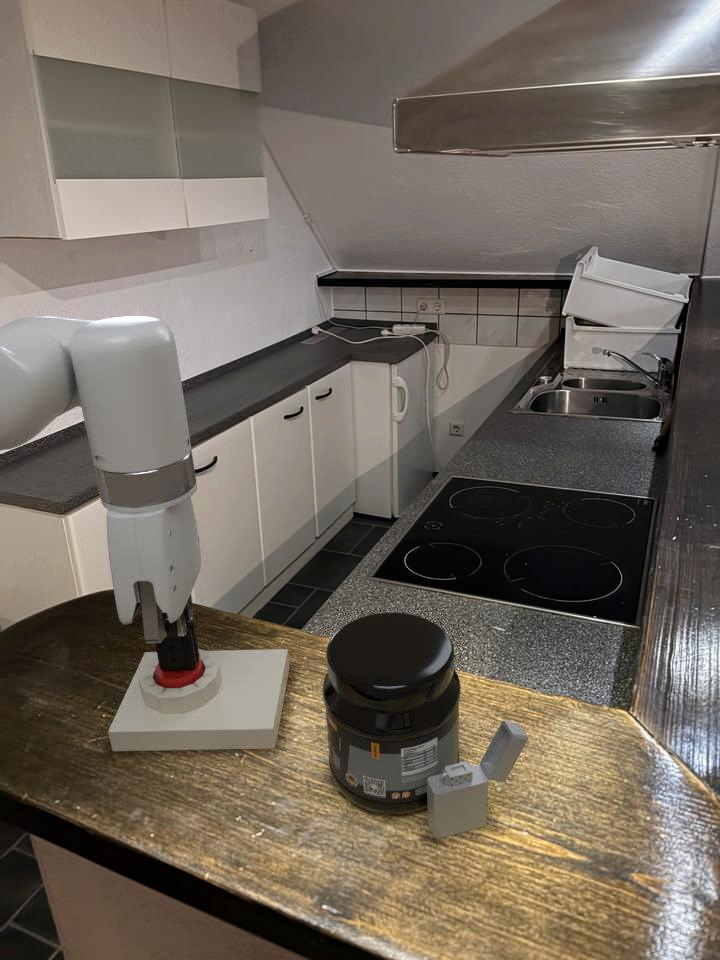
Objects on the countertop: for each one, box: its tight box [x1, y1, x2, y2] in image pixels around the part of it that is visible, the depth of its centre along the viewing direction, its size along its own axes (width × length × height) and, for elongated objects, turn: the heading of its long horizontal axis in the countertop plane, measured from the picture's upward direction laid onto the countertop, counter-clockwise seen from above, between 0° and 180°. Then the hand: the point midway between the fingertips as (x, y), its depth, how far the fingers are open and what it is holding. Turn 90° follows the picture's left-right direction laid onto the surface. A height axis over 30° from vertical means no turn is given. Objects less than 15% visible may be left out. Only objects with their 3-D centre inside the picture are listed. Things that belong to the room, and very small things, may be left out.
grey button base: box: [107, 648, 291, 752], centre depth 69 cm, size 14×11×4 cm
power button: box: [155, 658, 203, 688], centre depth 68 cm, size 4×4×2 cm
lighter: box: [426, 720, 529, 840], centre depth 55 cm, size 7×2×8 cm, turn 105°
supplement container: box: [322, 612, 462, 815], centre depth 59 cm, size 10×10×12 cm
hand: (180, 664), depth 68 cm, fingers closed
